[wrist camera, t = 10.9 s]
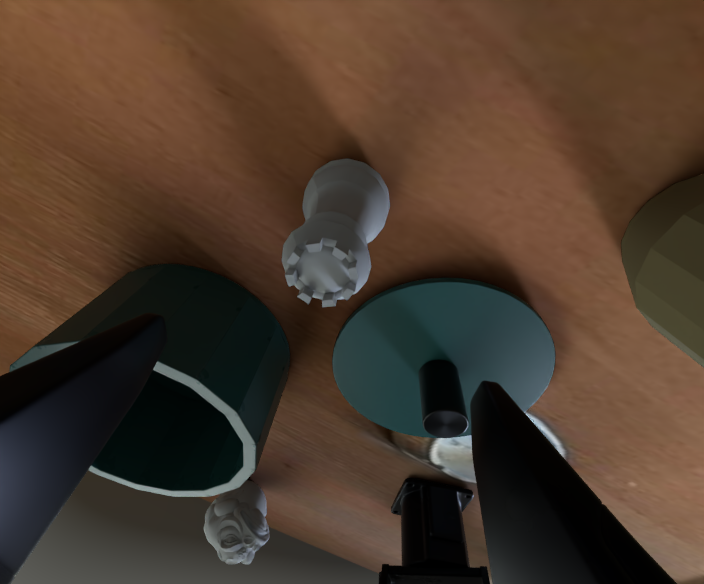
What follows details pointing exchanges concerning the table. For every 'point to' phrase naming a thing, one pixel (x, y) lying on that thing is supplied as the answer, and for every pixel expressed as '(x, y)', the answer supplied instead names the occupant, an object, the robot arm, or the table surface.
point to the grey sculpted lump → (238, 523)
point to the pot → (188, 380)
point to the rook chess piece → (336, 231)
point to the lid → (440, 354)
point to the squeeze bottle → (670, 264)
